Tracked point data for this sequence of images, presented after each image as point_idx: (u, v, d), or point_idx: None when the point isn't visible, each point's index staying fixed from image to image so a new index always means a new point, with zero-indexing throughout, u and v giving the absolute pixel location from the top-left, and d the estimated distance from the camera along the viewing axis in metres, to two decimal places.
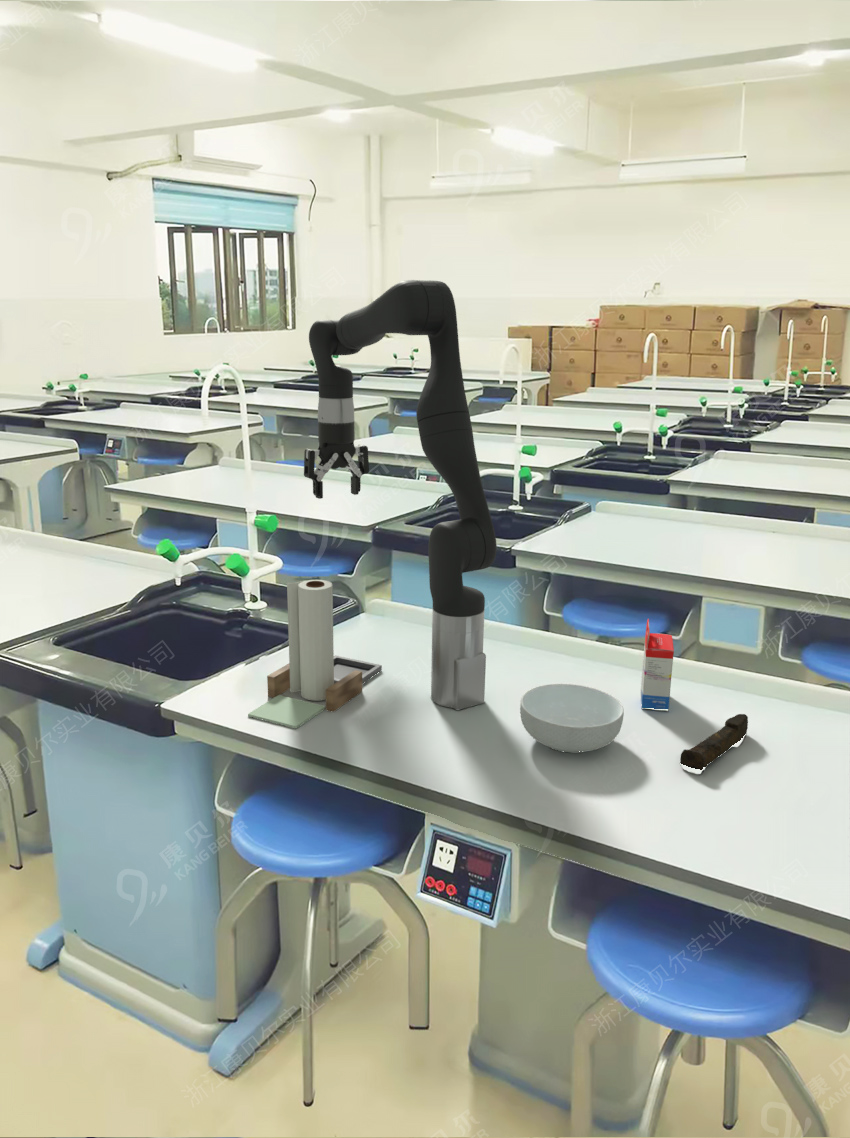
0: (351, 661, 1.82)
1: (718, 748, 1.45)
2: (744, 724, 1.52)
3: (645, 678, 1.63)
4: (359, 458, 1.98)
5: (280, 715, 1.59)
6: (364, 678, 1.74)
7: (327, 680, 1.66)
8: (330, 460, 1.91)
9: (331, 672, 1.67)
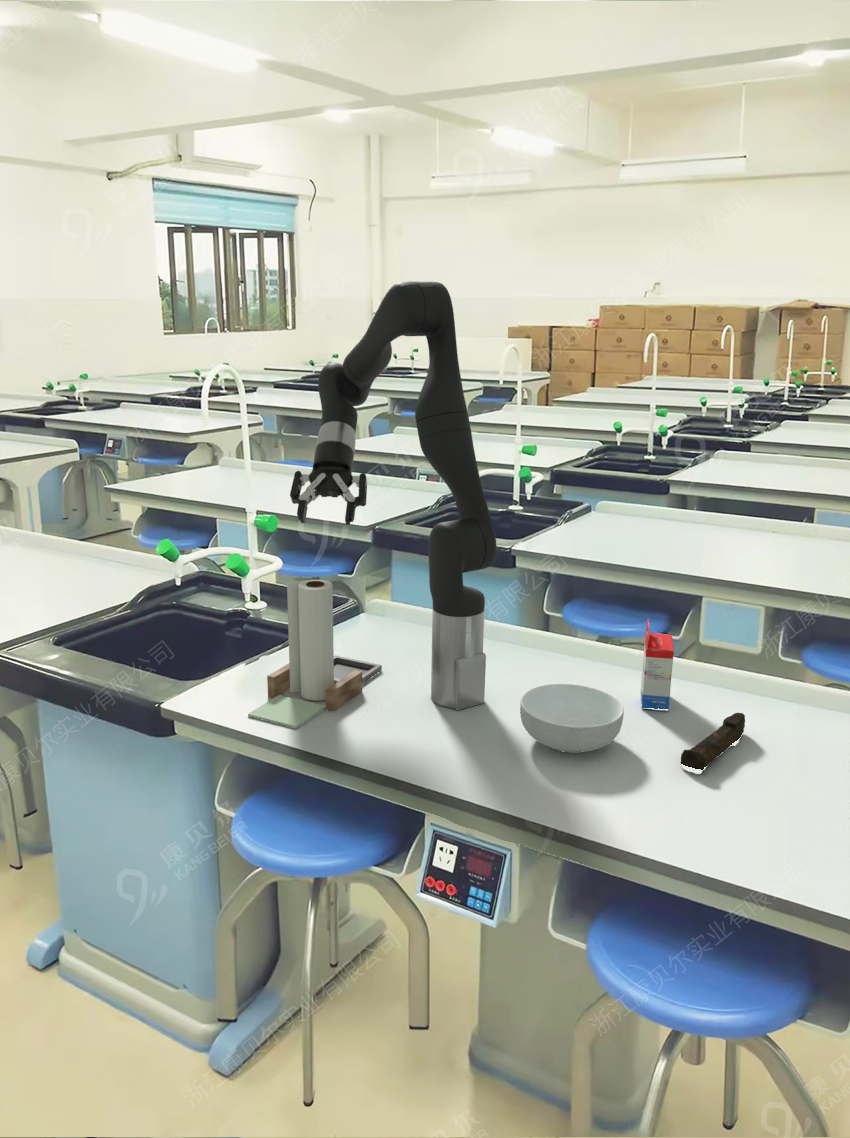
0: (351, 661, 1.82)
1: (717, 747, 1.45)
2: (742, 723, 1.52)
3: (645, 678, 1.63)
4: None
5: (280, 715, 1.59)
6: (364, 678, 1.74)
7: (327, 680, 1.66)
8: (316, 480, 1.75)
9: (331, 672, 1.67)
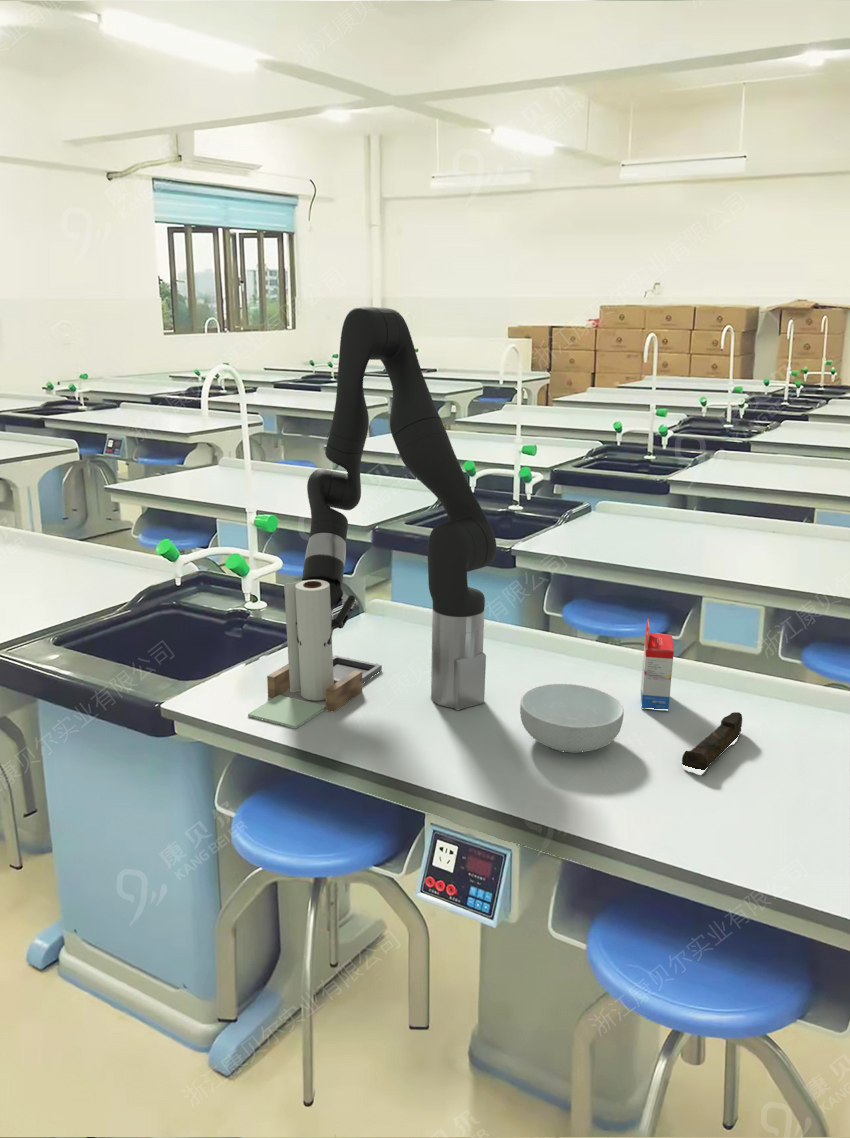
0: (351, 661, 1.82)
1: (718, 748, 1.45)
2: (739, 722, 1.53)
3: (645, 678, 1.63)
4: None
5: (280, 715, 1.59)
6: (364, 678, 1.74)
7: (326, 680, 1.66)
8: None
9: (330, 672, 1.66)
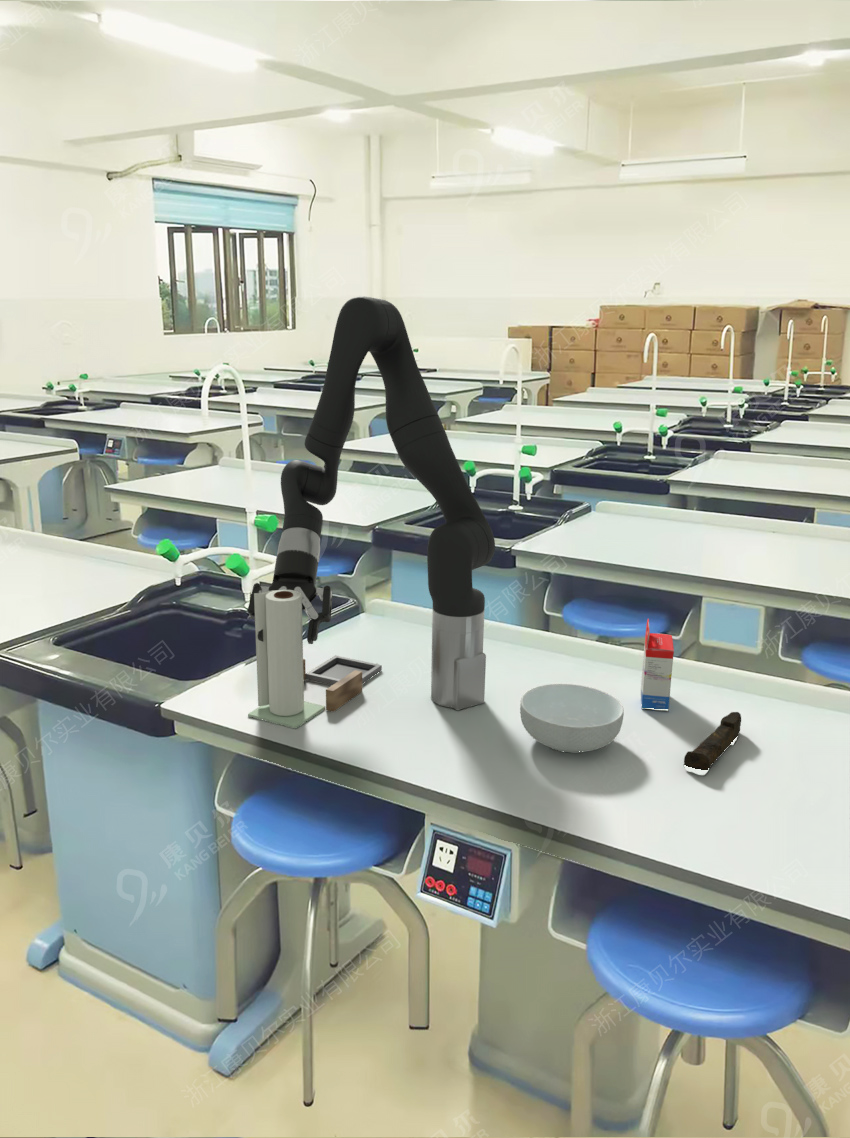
0: (351, 661, 1.82)
1: (719, 748, 1.45)
2: (739, 722, 1.53)
3: (645, 678, 1.63)
4: None
5: None
6: (364, 678, 1.74)
7: (296, 695, 1.58)
8: None
9: (300, 686, 1.59)
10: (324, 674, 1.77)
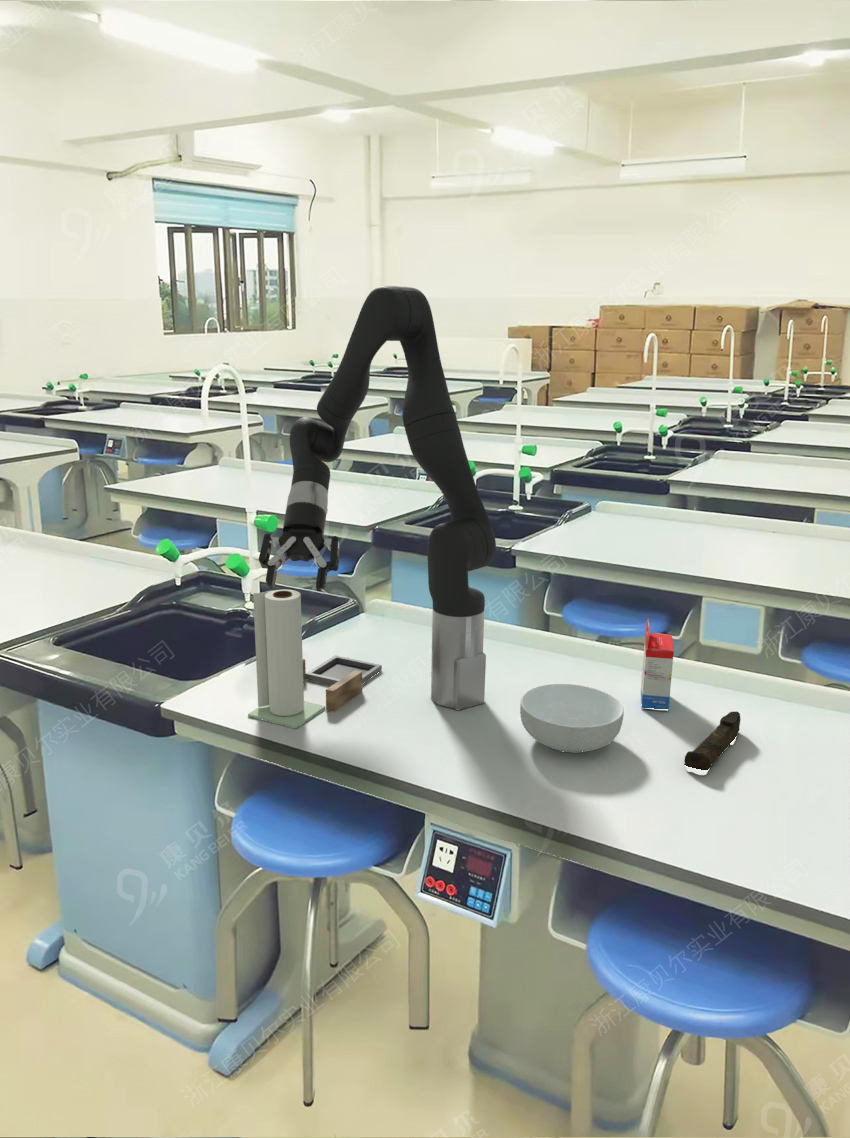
0: (351, 661, 1.82)
1: (719, 747, 1.45)
2: (738, 721, 1.53)
3: (645, 678, 1.63)
4: None
5: None
6: (364, 678, 1.74)
7: (296, 695, 1.58)
8: (286, 544, 1.67)
9: (300, 686, 1.59)
10: (324, 674, 1.77)
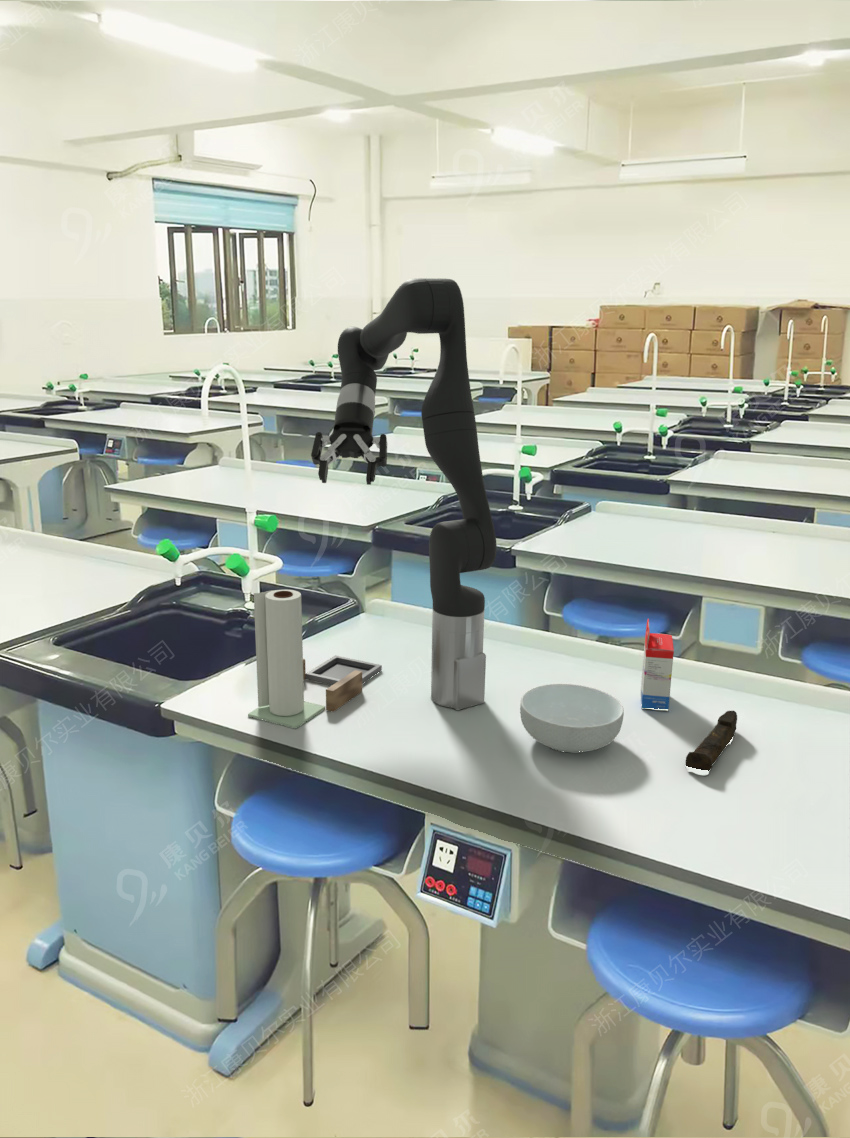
0: (351, 661, 1.82)
1: (719, 747, 1.45)
2: (735, 721, 1.53)
3: (645, 678, 1.63)
4: None
5: None
6: (364, 678, 1.74)
7: (296, 695, 1.58)
8: (337, 440, 1.76)
9: (300, 686, 1.59)
10: (324, 674, 1.77)
